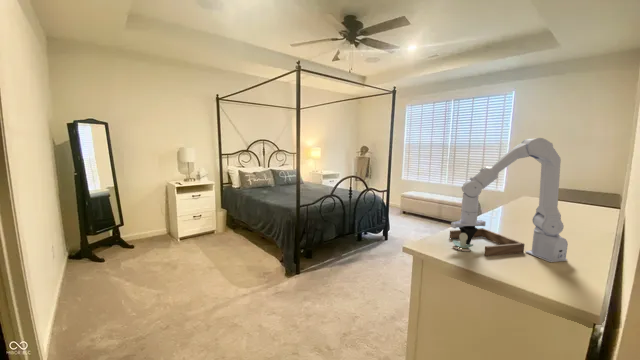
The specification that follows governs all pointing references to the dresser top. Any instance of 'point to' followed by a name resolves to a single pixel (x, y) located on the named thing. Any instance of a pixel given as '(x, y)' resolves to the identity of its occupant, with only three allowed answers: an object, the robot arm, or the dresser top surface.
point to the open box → (506, 243)
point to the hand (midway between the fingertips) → (466, 244)
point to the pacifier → (462, 243)
